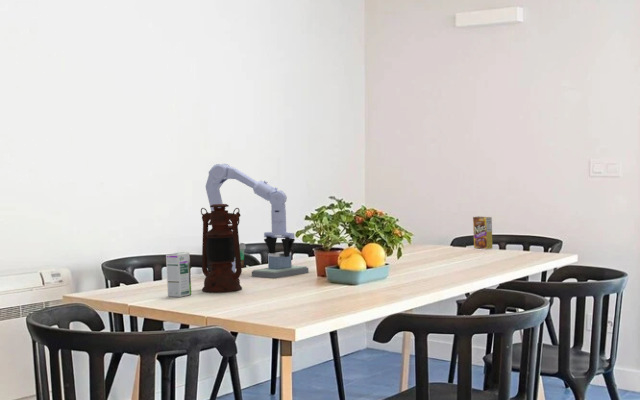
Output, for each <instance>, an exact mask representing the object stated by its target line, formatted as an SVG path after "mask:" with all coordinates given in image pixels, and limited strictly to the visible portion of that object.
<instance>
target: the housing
mask: <svg viewBox="0 0 640 400" xmlns="http://www.w3.org/2000/svg"><path fill="white" fill-rule="evenodd" d="M267 258H268V259H267V261H268V263H267V264H268V265H267V266H268V267H267V268H268V269H275V270H279V269H285V268H292V263H293V262H292V252H291V251H290V255H289V257H285V256H284V251H279V252H278V251H277V252H275V253H268V254H267Z"/></svg>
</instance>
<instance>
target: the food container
mask: <svg viewBox="0 0 640 400" xmlns="http://www.w3.org/2000/svg"><path fill="white" fill-rule="evenodd" d="M239 245H240V256H241V267H242V269H243V268H244V266H245V265H244V263H245V250H246V249H247V246H246V244H245V243H243V242H239ZM235 270H236V262H235Z"/></svg>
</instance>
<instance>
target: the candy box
mask: <svg viewBox="0 0 640 400" xmlns="http://www.w3.org/2000/svg"><path fill="white" fill-rule="evenodd" d="M492 221H493V217H491V216H472V222H473V223H472V225H473V248H474V249H485V250H490V249H493V222H492Z"/></svg>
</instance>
